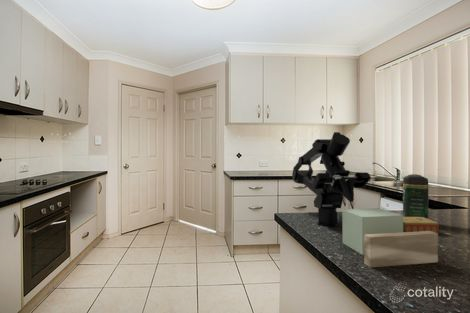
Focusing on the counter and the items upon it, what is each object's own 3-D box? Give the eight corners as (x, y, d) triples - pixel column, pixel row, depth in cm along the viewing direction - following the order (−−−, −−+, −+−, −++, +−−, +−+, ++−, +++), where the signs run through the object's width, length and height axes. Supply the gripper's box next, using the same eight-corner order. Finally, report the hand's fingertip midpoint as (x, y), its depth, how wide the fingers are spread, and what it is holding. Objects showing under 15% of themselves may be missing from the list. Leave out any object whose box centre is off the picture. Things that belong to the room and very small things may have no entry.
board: (364, 263, 59) (364, 234, 59) (430, 258, 62) (430, 230, 62) (370, 267, 57) (370, 237, 57) (437, 262, 60) (437, 233, 60)
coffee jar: (430, 227, 88) (429, 175, 88) (403, 224, 93) (403, 174, 93) (426, 221, 97) (426, 174, 96) (402, 218, 101) (402, 173, 101)
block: (342, 243, 73) (342, 209, 73) (379, 240, 75) (378, 208, 75) (362, 255, 65) (362, 217, 64) (403, 252, 66) (403, 215, 66)
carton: (439, 235, 81) (439, 222, 81) (387, 234, 82) (387, 221, 82) (422, 228, 89) (422, 216, 89) (375, 226, 91) (375, 215, 91)
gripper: (347, 178, 96) (366, 213, 86) (302, 179, 94) (315, 215, 83) (360, 158, 89) (383, 194, 78) (311, 159, 86) (328, 196, 75)
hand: (351, 201), depth 79 cm, fingers closed
